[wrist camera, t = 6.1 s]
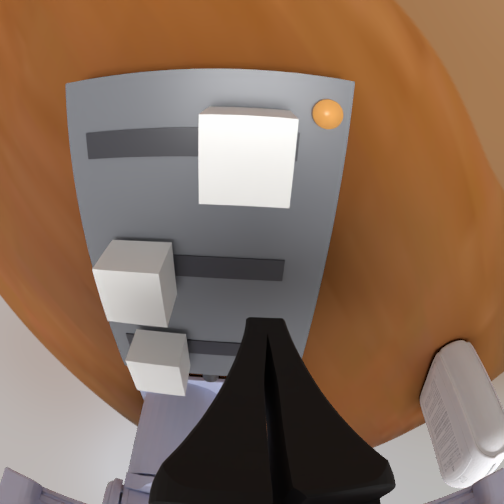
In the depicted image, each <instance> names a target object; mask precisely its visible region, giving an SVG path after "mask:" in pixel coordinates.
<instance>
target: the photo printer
mask: <svg viewBox="0 0 504 504" xmlns="http://www.w3.org/2000/svg"><path fill="white" fill-rule="evenodd" d="M420 406H421V409H422V412H423V415H424V418H425V421H426V424H427V427H428V430H429V434H430V437H431V440H432V444H433V447H434V451H435V454H436V458H437V461H438V465H439V469H440V473H441V476H442V479H443V480H444V482H445V483H446V484H448V485H449V486H452V487H454V488H467V487H469V486H471V485H473V484H474V483H475V482H477V481H479V480H480V479H482V478H484V477H486V476H488V475H490V474H492V473H493V472H494V471H495V470H496V468H497V467H498V466H499V465H500V463H501V462H502V460H503V458H504V409H503V407H502V404H501V402H500V400H499V397H498V395H497V393H496V391H495V389H494V386H493V384H492V382H491V380H490V378H489V376H488V374H487V372H486V370H485V368H484V366H483V364H482V362H481V360H480V358H479V357H478V355H477V353H476V351H475V349H474V347H473V346H472V344H471V343H470V342H465V341H464V340H458V341H455V342H452V343H450V344H448V345H446V346H444V347H443V348H442V349H441V350H440V352H438V353H437V354H436V356H435V358H434V360H433V362H432V365H431V368H430V370H429V373H428V376H427V378H426V381H425V384H424V387H423V390H422V392H421V395H420Z"/></svg>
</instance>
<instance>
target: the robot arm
mask: <svg viewBox="0 0 504 504" xmlns="http://www.w3.org/2000/svg"><path fill="white" fill-rule="evenodd" d="M140 392H141V395H142V397H143V399H144V403H143V407H142V411H141V415H140V420H139V424H138V428H137V433H136V437H135V441H134V446H133V451H132V455H131V460H130V465H129V470H128V472H127V474H126V479H125V484H124V485H122V482H123V480H121V479H118V478H116V479H115V480H114V481H111V482H109V483H108V484H107V487H106V491H105V495H104V499H103V504H380V498H381V497H382V496H384V495H386V494H387V493H389V492H390V491H392V490H393V489H394V488H395V480H394V475H393V472H392V470H391V467H390V465H389V462H388V460H386V459H385V458H384V457H382V456H381V455H380V454H379V453H378V452H376V451H375V450H374V449H373V448H372V447H371V446H369V445H368V444H367V443H366V442H365V441H364V440H363V439H362V438H361V437H360V436H359V435H358V434H357V433H356V432H355V431H354V430H353V429H352V428H351V427H350V426H349V425H348V424H347V423H346V422H345V420H344V419H343V418H342V417H341V416H340V415H339V414H338V413H337V411H336V410H335V409H334V408H333V406H332V405H331V404H330V403H329V401H328V400H327V399H326V397H325V396H324V395H323V393H322V392H321V390H320V389H319V387H318V386H317V384H316V383H315V381H314V380H313V378H312V376H311V375H310V373H309V371H308V370H307V368H306V366H305V364H304V362H303V361H302V359H301V357H300V355H299V353H298V351H297V349H296V347H295V345H294V343H293V340H292V338H291V336H290V333H289V331H288V328H287V326H286V323H285V320H284V319H283V318H261V317H249V318H247V319H246V325H245V331H244V335H243V338H242V341H241V344H240V347H239V350H238V352H237V355H236V357H235V360H234V362H233V365H232V367H231V369H230V371H229V373H228V375H227V377H226V379H217V380H216V381H215V382H207V381H205V380H204V378H203V377H191V376H189V377H188V383H187V389H186V395H185V396H177V395H169V394H161V393H154V392H147V391H140ZM266 423H267V430H266ZM0 504H86V503H83V502H80V501H77V500H74V499H72V498H69V497H66V496H64V495H61V494H58V493H56V492H54V491H51V490H49V489H47V488H44V487H42V486H41V485H40V484H38V483H37V482H35V481H34V480H32V479H30V478H28V477H26V476H24V475H22V474H20V473H18V472H16V471H14V470H12V469H10V468H8V467H6V468H5V471H4V473H3V477H2V480H1V483H0ZM425 504H504V468H501V469H500V470H498V471H496V472H494V473H492V474H490V475H488V476H486V477H484V478H482V479H480V480H479V481H477V482H475V483H474V484H473V485H471V486H469V487H467V488H464V489H462V490H460V491H457V492H455V493H452V494H450V495H447V496H445V497H442V498H439V499H437V500H434V501H431V502H428V503H425Z"/></svg>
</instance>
